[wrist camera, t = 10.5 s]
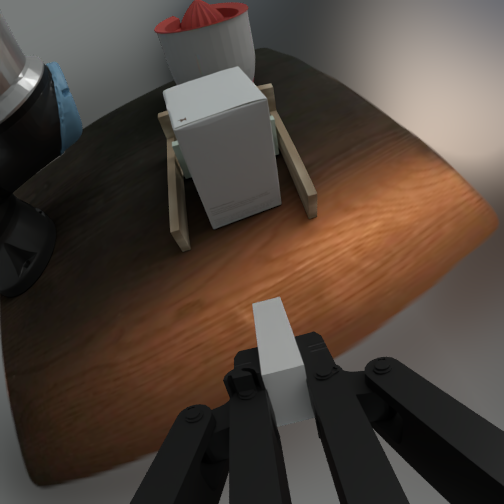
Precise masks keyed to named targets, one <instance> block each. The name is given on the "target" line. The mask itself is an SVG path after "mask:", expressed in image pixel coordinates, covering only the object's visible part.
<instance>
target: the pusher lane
mask: <svg viewBox="0 0 504 504" xmlns="http://www.w3.org/2000/svg"><path fill="white" fill-rule="evenodd" d="M257 88H258V89H259V90H260V91H261V92H262V93H263V94H264V96H265V97H266V98H267V100H268V107H269V113H270V116H272V115H273V117H274V119H275V126H276V133H277V141H278V147H279V149H280V151H281V154H282V156H283V158H284V161H285V163H286V165H287V168H288V170H289V172H290V175H291V177H292V179H293V182H294V184H295V186H296V189H297V191H298V194H299V196H300V199H301V201H302V203H303V206H304V208H305V211H306V213H307V216H308V218H309V219H310V218H314V217H317V192H316V190H315V188H314V186H313V183H312V181H311V179H310V177H309V175H308V173H307V171H306V169H305V167H304V165H303V162H302V160H301V158H300V156H299V154H298V152H297V150H296V148H295V146H294V144H293V142H292V140H291V138H290V136H289V134H288V132H287V130H286V128H285V126H284V125H283V123H282V121H281V119H280V117H279V115H278V113H277V111H276V106H275V98H274V91H273V86H272V85H271V84H266V85H261V86H257ZM158 119H159V122H160V124H161V126H162V129H163V131H164V133H165V136H166V138H167V165H168V195H169V216H170V232H171V234H172V236H173V237H174V239H175V240H176V242H177V244H178V245H179V247H180V248H181V250H182V252H184V251H187V250H191V248H190V239H189V230H188V221H187V211H186V200H185V189H184V178H183V171H182V169H181V166H180V164H179V162H178V160H177V157H176V155H175V153H174V150H173V148H172V142H174V141H177V139H176V136H175V134H174V131H173V128H172V125H171V121H170V117H169V114H168V110H167V111H164V112H161V113H158Z"/></svg>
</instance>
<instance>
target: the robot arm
mask: <svg viewBox="0 0 504 504" xmlns="http://www.w3.org/2000/svg"><path fill="white" fill-rule="evenodd" d="M81 134H82V122H81V119H80V116H79V113H78V110H77V108H76V105H75V102H74V100H73V97H72V95H71V93H70V92H69V88H68V86H67V82H66V79H65V77H64V75H63V72H62V70H61V68H60V66H59V65H58V63H57V62H52V63H47V64H46V65H45V64H44V63H43V61H42V59H41V58H40V57H38V56H34V55H24V54H23V52H22V50H21V48H20V47H19V45H18V43H17V41H16V39H15V38H14V36H13V34H12V32H11V30H10V28H9V26H8V24H7V23H6V21H5V19H4V17H3V15H2V13H1V11H0V293H1V294H2V295H4V296H7V297H13V296H17V295H19V294H21V293H23V292H24V291H26V290H27V289H28V288H29V287H30V286H31V285H32V284H33V283H34V282H35V281H36V280H37V279H38V277H39V276H40V275H41V273H42V272H43V270H44V269H45V267H46V265H47V263H48V261H49V259H50V257H51V255H52V252H53V249H54V245H55V240H56V228H55V225H54V223H53V221H52V220H51V219H50V218H49V217H48V216H47V214H46V213H45V212H43V211H42V210H40V209H37V208H34V207H33V206H31V205H30V204H28V203H26V202H24V201H22V200H20V199H18V198H17V197H16V196H15V195H14V194H13V192H14V191H15V190H16V189H18V188H19V187H20V186H21V185H22V184H24V183H25V182H26V181H27V180H28V179H30V178H31V177H32V176H33V175H35V174H36V173H37V172H38V171H40V170H41V169H42V168H44V167H45V166H46V165H47V164H49V163H50V162H51V161H53V160H54V159H55V158H57V157H58V156H61V155H62V154H63V153H64V151H65V150H66V149H67V148H69V147H70V146H71V145H72V144H74V143H75V142H76V141H77V140H78V139H79V138H80V136H81ZM253 312H254V320H255V328H256V336H257V344H258V347H256V348H251V349H247V350H243V351H239V352H238V353H237V355H236V356H235V358H234V369H233V370H231V371H230V372H228V373H227V374H226V375H225V377H224V380H223V381H224V384H225V386H226V389H227V392H228V394H229V397H230V400H229V401H228V402H227V403H226V404H224V405H222V406H220V407H218V408H215V409H213V410H211V409H210V408H209V407H208V406H206V405H201V404H199V405H192V406H190V407H187V408H186V409H184V410H183V411H181V412H180V414H179V415H178V416H177V418H176V420H175V422H174V424H173V426H172V428H171V429H170V431H169V433H168V435H167V437H166V439H165V440H164V442H163V444H162V446H161V448H160V450H159V451H158V453H157V455H156V457H155V459H154V461H153V462H152V465H151V466H150V468H149V470H148V472H147V473H146V475H145V477H144V479H143V481H142V483H141V484H140V486H139V488H138V490H137V491H136V493H135V495H134V497H133V499H132V501H131V502H130V504H218V503H219V500H220V497H221V494H222V491H223V488H224V485H225V482H226V479H227V476H228V473H229V504H292V503H291V497H290V491H289V487H288V480H287V474H286V469H285V463H284V457H283V451H282V446H281V441H280V435H279V432H278V429H277V427H278V426H283V425H287V424H291V423H295V422H299V421H303V420H307V419H310V418H314V417H315V420H316V425H317V430H318V435H319V438H320V439H321V442H322V445H323V448H324V452H325V455H326V458H327V462H328V464H329V468H330V471H331V474H332V478H333V481H334V485H335V488H336V491H337V494H338V498H339V501H340V504H409V502H408V500H407V497H406V495H405V493H404V491H403V489H402V487H401V485H400V483H399V481H398V479H397V477H396V475H395V473H394V471H393V469H392V466H391V464H390V462H389V460H388V458H387V456H386V454H385V452H384V451H383V448H382V446H381V444H380V442H379V440H378V438H377V436H376V434H375V432H374V430H375V431H376V432H377V433H378V434H379V435H380V436H381V437H382V438H383V439H384V440H385V441H386V442H387V443H388V444H389V445H390V446H391V447H392V448H393V449H394V450H395V451H396V452H397V453H398V454H399V455H400V456H402V458H403V459H404V460H405V461H406V462H407V463H409V465H410V466H411V467H413V468H414V469H415V470H416V471H417V472H418V473H419V474H420V475H421V476H422V477H423V478H424V479H425V480H426V481H427V482H428V483H429V484H430V485H431V486H432V487H433V488H435V489H436V490H437V491H438V492H439V493H440V494H441V495H442V496H443V497H444V498H445V499H446V500H447V501H448V502H449V503H450V504H504V431H502V430H501V429H499V428H498V427H496V426H494V425H493V424H492V423H490V422H488V421H487V420H486V419H484V418H482V417H481V416H480V415H478V414H476V413H475V412H474V411H472V410H471V409H469V408H468V407H466V406H465V405H463V404H462V403H460V402H459V401H457V400H456V399H454V398H453V397H451V396H450V395H448V394H447V393H445V392H444V391H442V390H441V389H439V388H438V387H436V386H435V385H433V384H432V383H430V382H429V381H427V380H426V379H424V378H423V377H422V376H420V375H419V374H417V373H416V372H414V371H413V370H411V369H410V368H408V367H407V366H405V365H404V364H402V363H401V362H399V361H398V360H396V359H394V358H391V357H381V358H377V359H374V360H372V361H370V362H369V363H368V364H367V365H366V367H365V371H358V372H348V371H344V370H342V368H341V367H340V366H338V365H336V364H335V362H334V360H333V358H332V356H331V354H330V352H329V350H328V348H327V346H326V344H325V343H324V340H323V338H322V337H321V335H319V334H317V333H316V332H311V333H307V334H304V335H300V336H296V337H294V335H293V332H292V329H291V327H290V324H289V321H288V318H287V315H286V312H285V310H284V307H283V304H282V301H281V298H280V297H277V298H273V299H269V300H265V301H261V302H258V303H254V304H253ZM373 429H374V430H373Z"/></svg>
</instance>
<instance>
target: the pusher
mask: <svg viewBox="0 0 504 504" xmlns="http://www.w3.org/2000/svg"><path fill="white" fill-rule="evenodd" d="M270 120H271V127H272V135H273V142H274V150H275V155H278V154H279V149H278V141H277V133H276V126H275V119H274V117H273V115H272V116H270ZM172 148H173V150H174V153H175V155H176V157H177V160H178V162H179V164H180V166H181V169H182V171H183V173H184V176H185V178H186V179H187V178H191V177H192V176H191V174H190V171H189V169H188V167H187V164H186V162H185V159H184V156H183V154H182V151H181V149H180V146H179V144H178V141H174V142H172Z"/></svg>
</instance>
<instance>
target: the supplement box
mask: <svg viewBox="0 0 504 504" xmlns="http://www.w3.org/2000/svg"><path fill="white" fill-rule="evenodd" d="M163 96H164V99H165V103H166V107H167V110H168V114H169V117H170V121H171V125H172V128H173V131H174V134H175V136H176V139H177V141H178V144H179V146H180V149H181V151H182V154H183V156H184V159H185V162H186V164H187V167H188V169H189V171H190V174H191V176H192V179H193V181H194V184H195V186H196V189H197V191H198V194H199V196H200V199H201V201H202V203H203V206H204V208H205V211H206V213H207V215H208V218H209V220H210V223H211V225H212V227H213V229H216V228H219V227H221V226H224V225H227V224H229V223H232V222H235V221H237V220H240V219H243V218H245V217H248V216H251V215H254V214H256V213H259V212H262V211H264V210H267V209H270V208H273V207H275V206H278V205H281V196H280V188H279V180H278V173H277V165H276V157H275V150H274V142H273V135H272V127H271V120H270V113H269V107H268V100H267V98H266V97H265V96H264V94H263V93H262V92H261V91H260V90H259V89H258V88H257V86H256V85H255V84H254V83H253V82H252V81H251V80H250V79H249V78H248V76H247V75H246V74H245V73H244V72H243V71H242V70H241V69H240V68H239V67H238V66H237V67H233V68H229V69H226V70H222V71H219V72H216V73H213V74H210V75H207V76H204V77H201V78H198V79H195V80H192V81H189V82H186V83H183V84H180V85H177V86H174V87H172V88H169V89H167V90H164V91H163Z"/></svg>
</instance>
